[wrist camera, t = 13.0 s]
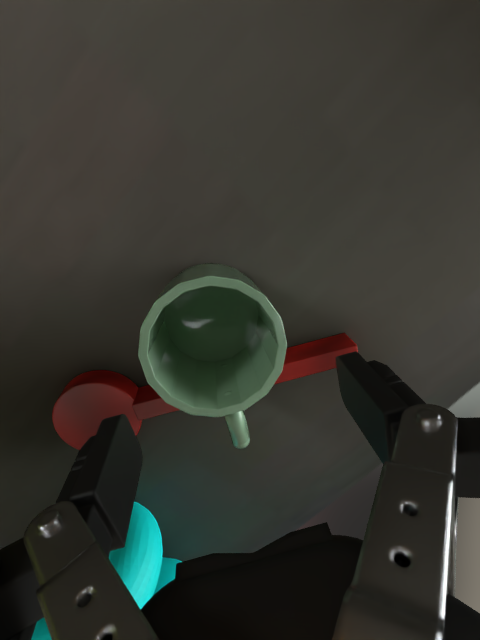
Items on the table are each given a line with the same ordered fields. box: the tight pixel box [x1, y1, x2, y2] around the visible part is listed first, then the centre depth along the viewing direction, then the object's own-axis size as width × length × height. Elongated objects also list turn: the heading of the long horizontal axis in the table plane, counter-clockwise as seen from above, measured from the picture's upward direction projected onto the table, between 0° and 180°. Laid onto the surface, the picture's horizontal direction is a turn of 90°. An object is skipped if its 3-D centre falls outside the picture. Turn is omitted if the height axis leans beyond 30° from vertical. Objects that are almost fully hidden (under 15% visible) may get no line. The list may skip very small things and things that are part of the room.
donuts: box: [31, 502, 182, 640], centre depth 23 cm, size 10×10×10 cm
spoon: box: [52, 333, 358, 450], centre depth 22 cm, size 19×5×2 cm, turn 103°
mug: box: [138, 263, 287, 449], centre depth 18 cm, size 9×6×6 cm
